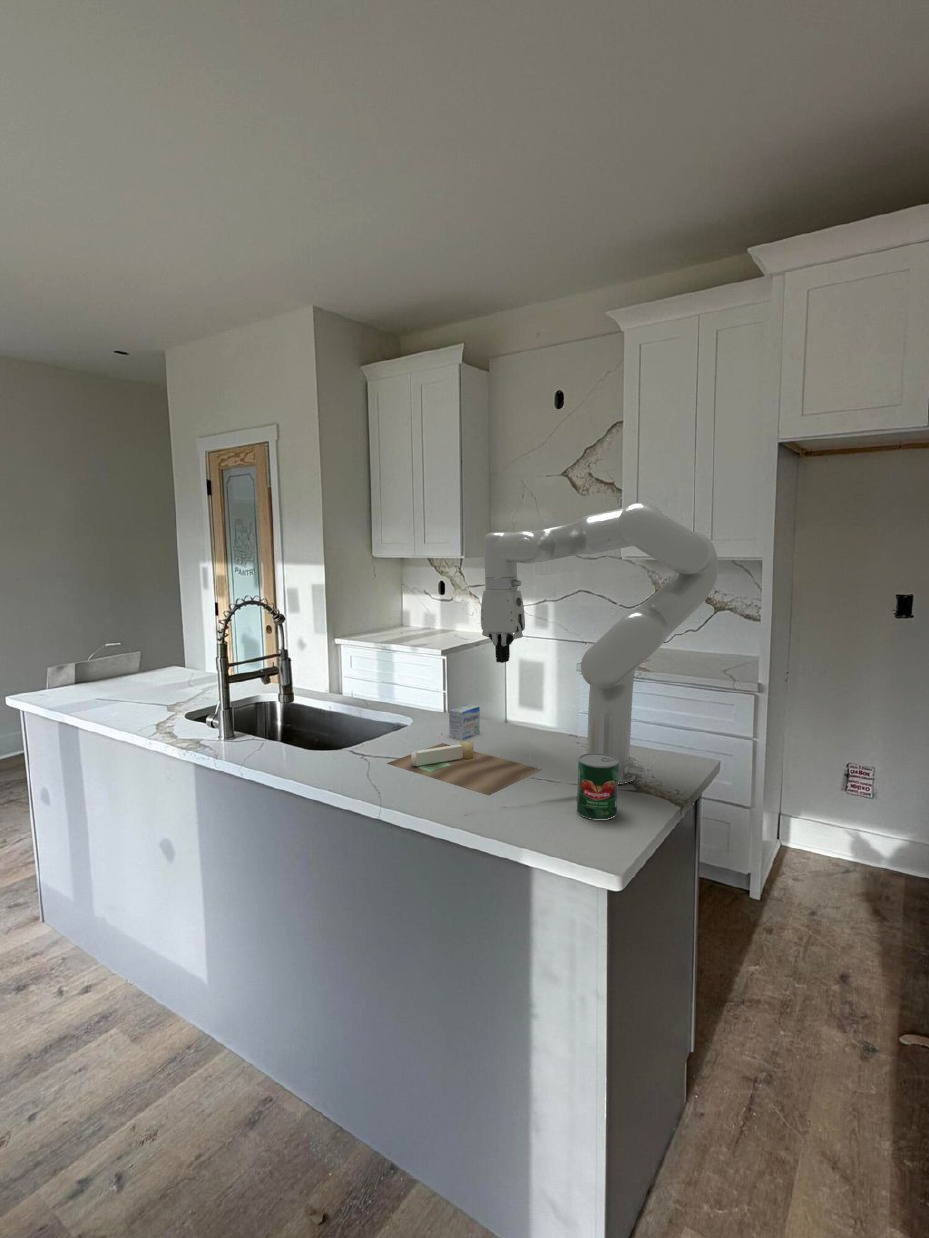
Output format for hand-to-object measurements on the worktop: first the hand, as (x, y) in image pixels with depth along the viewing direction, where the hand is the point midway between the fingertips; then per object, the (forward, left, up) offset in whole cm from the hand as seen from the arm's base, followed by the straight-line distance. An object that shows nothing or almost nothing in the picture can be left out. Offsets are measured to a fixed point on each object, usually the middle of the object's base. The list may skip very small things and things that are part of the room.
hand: (502, 661), depth 164 cm
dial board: (+2, +12, -24) cm, 27 cm away
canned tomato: (-33, +13, -25) cm, 43 cm away
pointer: (+8, +13, -23) cm, 27 cm away
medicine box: (+17, -7, -25) cm, 31 cm away
